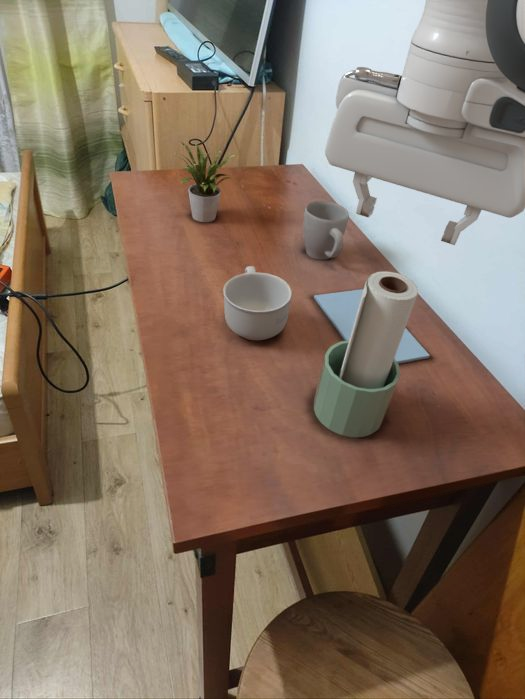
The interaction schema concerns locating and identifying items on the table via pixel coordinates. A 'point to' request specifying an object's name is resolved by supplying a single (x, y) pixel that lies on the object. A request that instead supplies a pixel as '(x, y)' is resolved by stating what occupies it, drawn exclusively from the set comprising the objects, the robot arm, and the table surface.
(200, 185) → the house plant
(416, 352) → the mat
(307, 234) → the mug
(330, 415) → the sage green pencil cup
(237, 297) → the teacup
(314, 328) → the table surface
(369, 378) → the paper towel roll
